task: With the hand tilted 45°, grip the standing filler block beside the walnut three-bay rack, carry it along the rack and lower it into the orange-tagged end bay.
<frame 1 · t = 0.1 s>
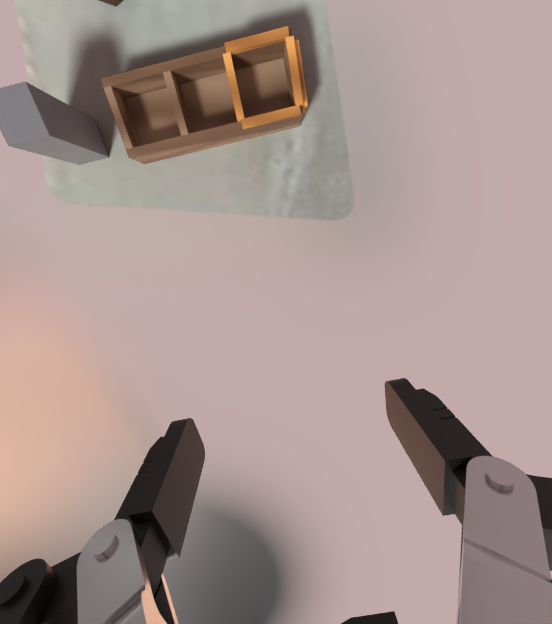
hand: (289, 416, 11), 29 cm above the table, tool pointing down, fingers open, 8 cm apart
filler block: (86, 142, 32), on the table
bay rack: (212, 111, 31), on the table
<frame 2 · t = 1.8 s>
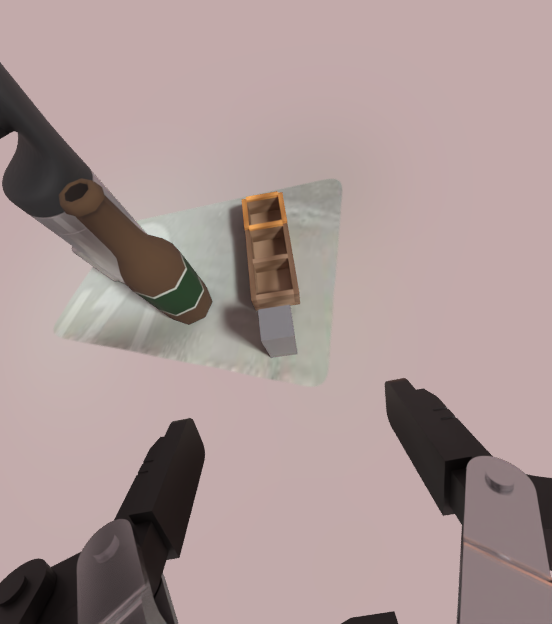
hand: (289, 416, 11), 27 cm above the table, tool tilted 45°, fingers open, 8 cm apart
beer bottle: (192, 304, 44), on the table
filler block: (282, 343, 40), on the table
bay rack: (271, 256, 46), on the table
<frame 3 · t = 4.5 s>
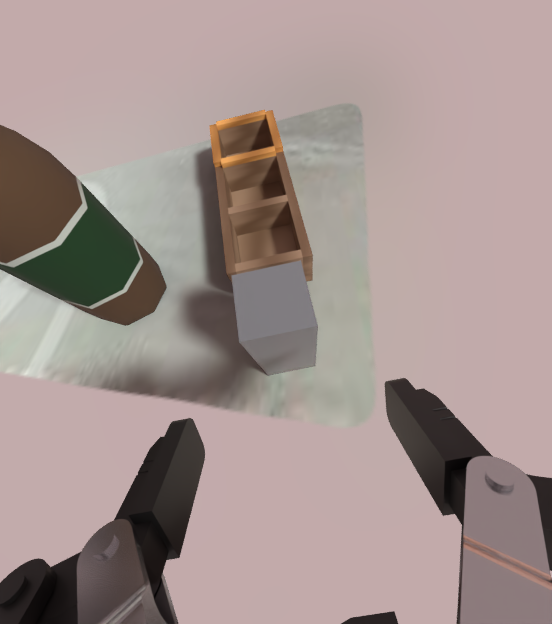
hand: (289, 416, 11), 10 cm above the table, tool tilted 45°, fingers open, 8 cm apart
beer bottle: (134, 293, 27), on the table
filler block: (287, 347, 22), on the table
bay rack: (260, 211, 29), on the table
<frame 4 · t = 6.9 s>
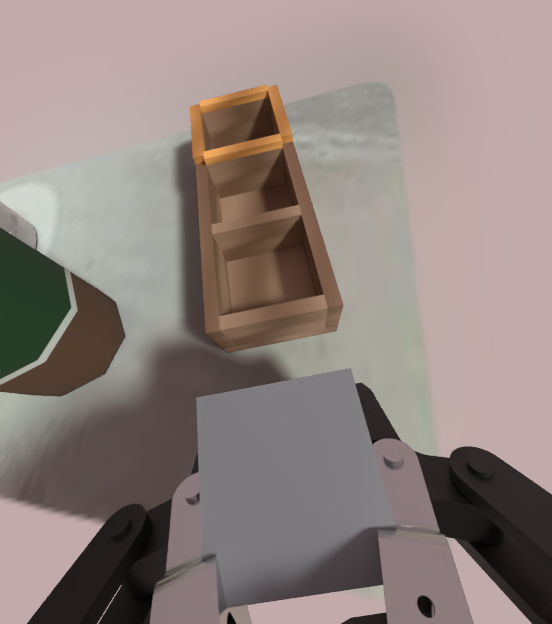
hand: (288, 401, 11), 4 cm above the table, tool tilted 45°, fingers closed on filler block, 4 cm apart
beer bottle: (80, 343, 19), on the table
filler block: (301, 444, 14), on the table, touching gripper
bay rack: (259, 225, 21), on the table
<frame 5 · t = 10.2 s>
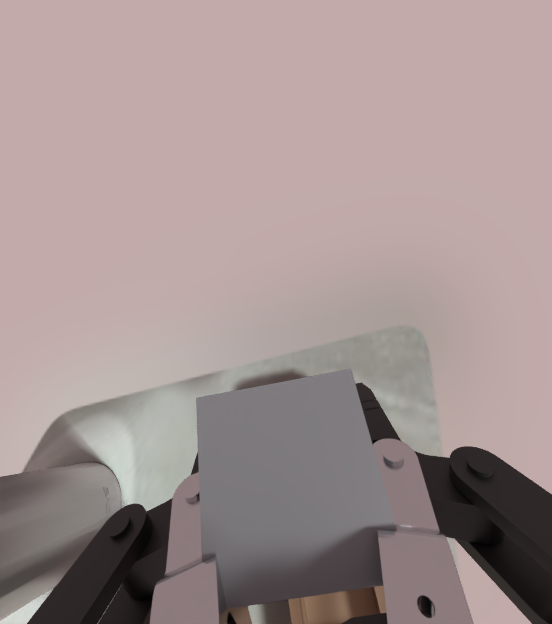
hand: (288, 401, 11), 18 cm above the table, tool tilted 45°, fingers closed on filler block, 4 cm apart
filler block: (301, 444, 14), point 14 cm above the table, touching gripper
bay rack: (320, 507, 24), on the table
when the fingers open (6 cm above the table, at t = 13.4 s): filler block drops 1 cm, resting on bay rack.
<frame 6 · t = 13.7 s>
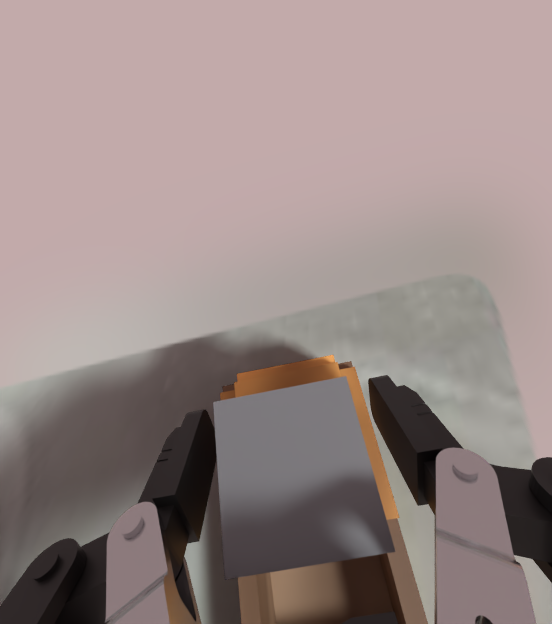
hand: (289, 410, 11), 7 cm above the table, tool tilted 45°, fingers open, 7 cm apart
filler block: (302, 443, 15), point 1 cm above the table, touching bay rack
bay rack: (327, 574, 14), on the table
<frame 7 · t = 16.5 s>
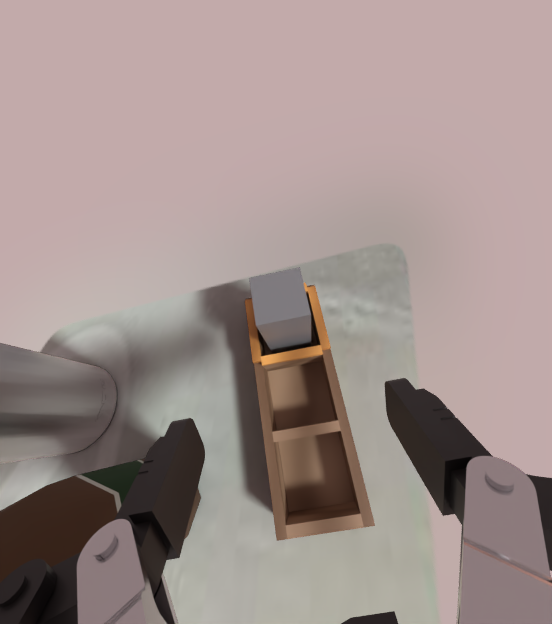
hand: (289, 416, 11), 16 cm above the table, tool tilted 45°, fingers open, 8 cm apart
beer bottle: (165, 498, 25), on the table
filler block: (288, 333, 28), point 1 cm above the table, touching bay rack
bay rack: (300, 395, 26), on the table
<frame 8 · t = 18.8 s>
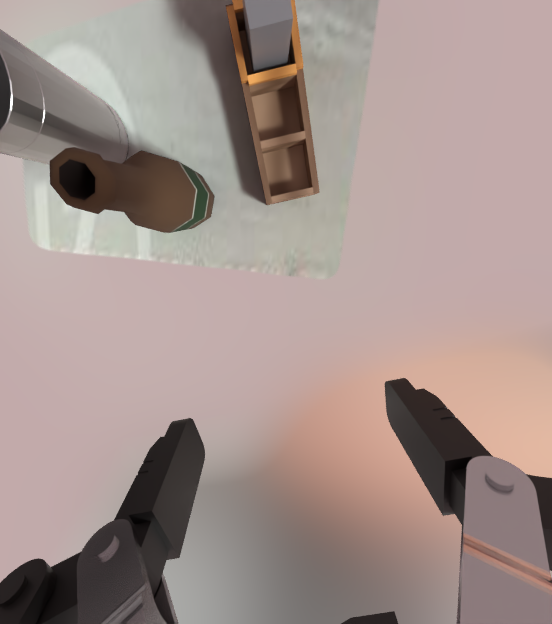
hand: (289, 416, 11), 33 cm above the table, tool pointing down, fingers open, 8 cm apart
beer bottle: (189, 200, 38), on the table
filler block: (266, 56, 32), point 1 cm above the table, touching bay rack
bay rack: (276, 120, 35), on the table
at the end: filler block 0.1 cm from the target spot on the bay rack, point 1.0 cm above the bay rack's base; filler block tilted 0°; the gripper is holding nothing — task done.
